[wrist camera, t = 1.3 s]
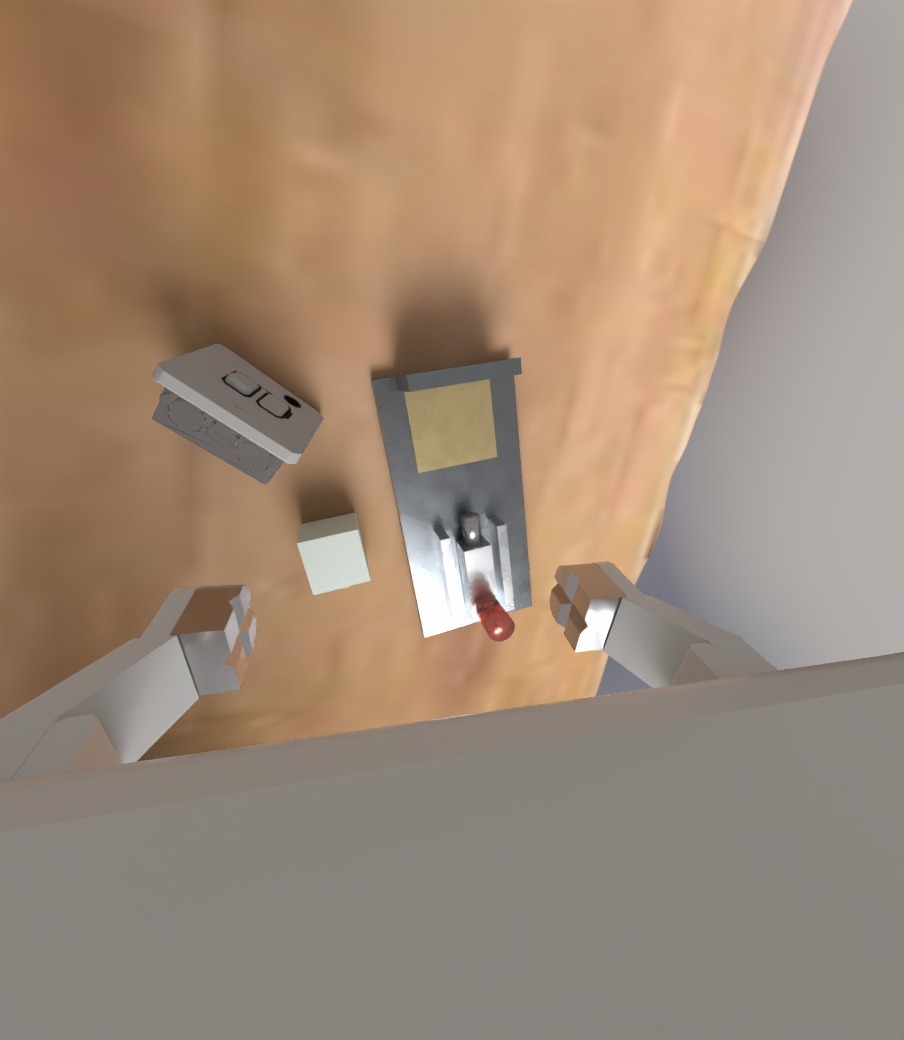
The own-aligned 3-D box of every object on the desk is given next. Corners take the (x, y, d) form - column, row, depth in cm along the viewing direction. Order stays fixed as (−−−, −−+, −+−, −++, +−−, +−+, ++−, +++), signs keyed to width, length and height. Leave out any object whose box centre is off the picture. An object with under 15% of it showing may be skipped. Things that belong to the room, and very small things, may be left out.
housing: (369, 567, 40) (373, 591, 35) (319, 580, 39) (316, 605, 34) (355, 511, 38) (357, 529, 33) (301, 523, 36) (297, 543, 32)
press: (528, 601, 46) (558, 635, 40) (422, 632, 44) (437, 674, 37) (508, 359, 37) (543, 353, 30) (371, 380, 34) (379, 379, 28)
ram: (489, 600, 43) (516, 638, 37) (465, 606, 43) (489, 646, 36) (478, 508, 39) (506, 532, 33) (451, 514, 39) (475, 540, 32)
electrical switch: (326, 416, 34) (314, 437, 26) (294, 462, 35) (273, 497, 27) (220, 341, 30) (166, 337, 22) (187, 395, 31) (123, 411, 23)
